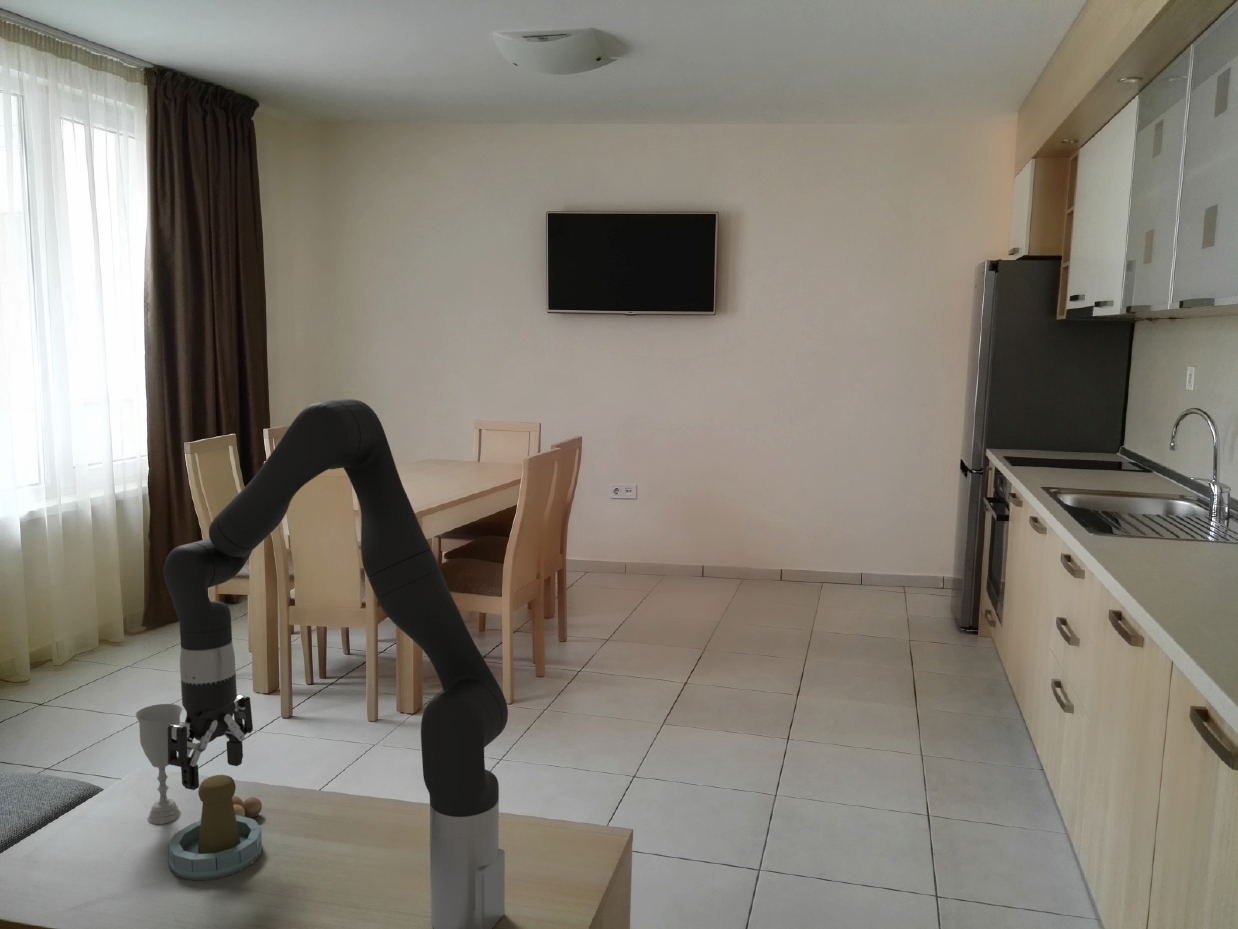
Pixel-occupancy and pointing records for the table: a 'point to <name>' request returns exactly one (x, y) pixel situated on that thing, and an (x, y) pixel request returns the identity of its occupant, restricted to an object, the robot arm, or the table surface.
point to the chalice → (159, 754)
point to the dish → (213, 865)
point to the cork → (217, 815)
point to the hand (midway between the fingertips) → (214, 776)
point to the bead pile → (247, 806)
